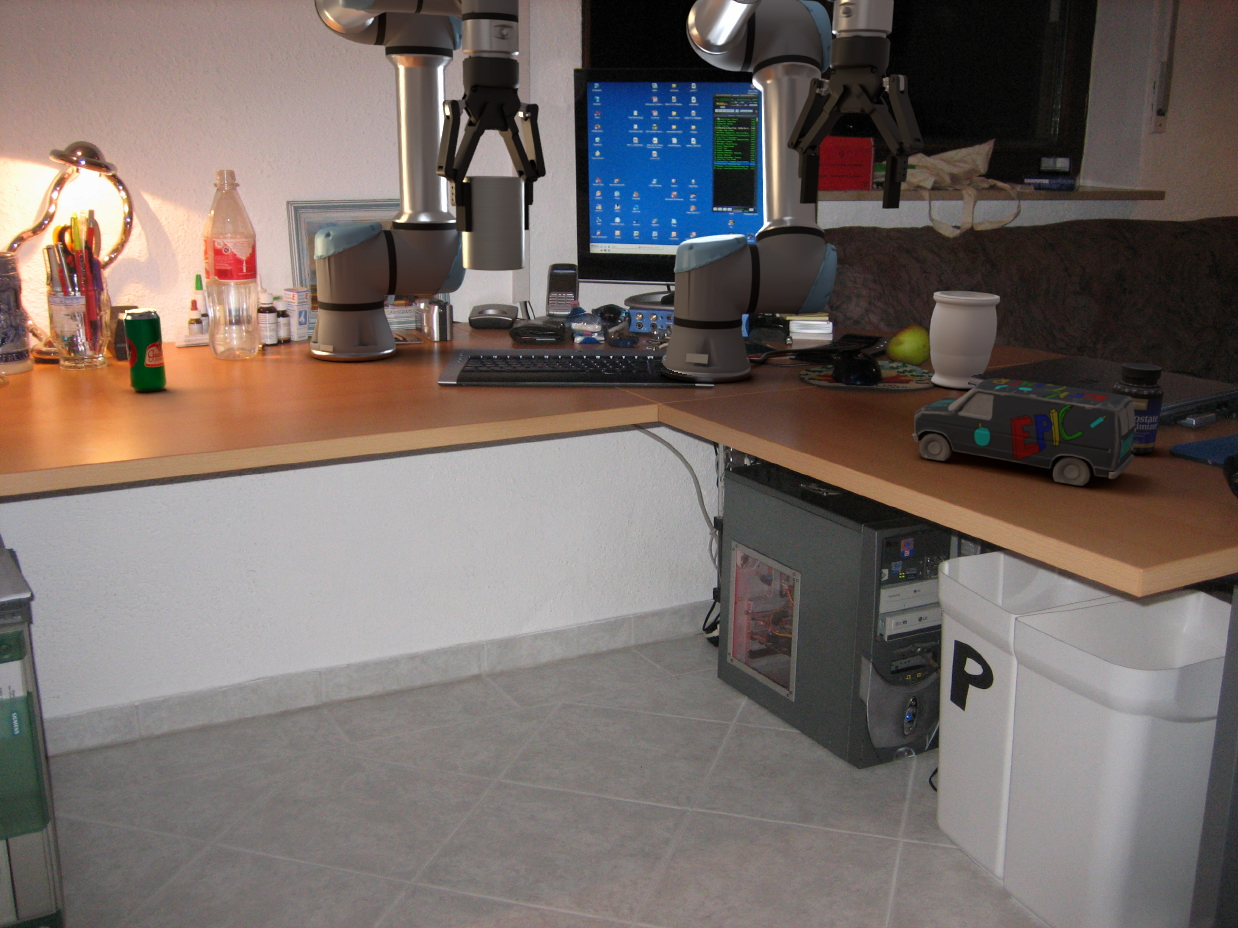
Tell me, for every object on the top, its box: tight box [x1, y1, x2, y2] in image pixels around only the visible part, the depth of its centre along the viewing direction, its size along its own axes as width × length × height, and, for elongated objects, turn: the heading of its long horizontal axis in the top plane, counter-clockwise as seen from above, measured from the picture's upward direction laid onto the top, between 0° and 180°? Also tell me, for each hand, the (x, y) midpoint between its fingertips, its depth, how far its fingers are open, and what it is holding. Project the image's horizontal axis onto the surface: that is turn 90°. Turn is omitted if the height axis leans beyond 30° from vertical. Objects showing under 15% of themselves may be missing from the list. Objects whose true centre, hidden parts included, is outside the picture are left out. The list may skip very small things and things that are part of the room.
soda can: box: [123, 308, 168, 392], centre depth 162 cm, size 5×5×12 cm
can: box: [462, 175, 525, 272], centre depth 148 cm, size 9×9×12 cm
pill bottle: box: [1111, 362, 1165, 455], centre depth 139 cm, size 6×6×11 cm
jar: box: [929, 290, 1001, 390], centre depth 176 cm, size 11×10×15 cm
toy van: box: [911, 377, 1136, 487], centre depth 131 cm, size 11×25×10 cm, turn 54°
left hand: (493, 230), depth 149 cm, fingers closed on can, 9 cm apart
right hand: (847, 206), depth 144 cm, fingers open, 13 cm apart
